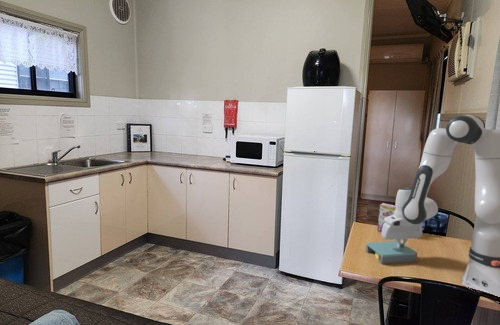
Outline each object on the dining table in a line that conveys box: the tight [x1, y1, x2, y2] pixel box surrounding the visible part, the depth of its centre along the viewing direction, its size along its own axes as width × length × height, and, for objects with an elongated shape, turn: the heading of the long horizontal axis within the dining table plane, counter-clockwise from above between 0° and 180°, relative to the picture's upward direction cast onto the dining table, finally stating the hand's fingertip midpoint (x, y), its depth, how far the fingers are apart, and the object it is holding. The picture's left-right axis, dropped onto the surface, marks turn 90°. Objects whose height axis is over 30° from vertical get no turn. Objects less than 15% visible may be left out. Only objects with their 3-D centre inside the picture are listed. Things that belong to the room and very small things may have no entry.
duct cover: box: [365, 240, 418, 257], centre depth 157 cm, size 14×18×1 cm
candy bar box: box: [377, 202, 396, 233], centre depth 188 cm, size 11×5×16 cm, turn 48°
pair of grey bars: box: [365, 244, 418, 265], centre depth 157 cm, size 14×18×4 cm
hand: (400, 246), depth 158 cm, fingers closed, pressing on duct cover
